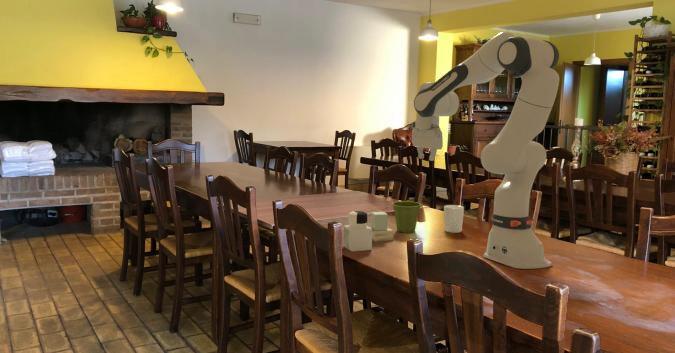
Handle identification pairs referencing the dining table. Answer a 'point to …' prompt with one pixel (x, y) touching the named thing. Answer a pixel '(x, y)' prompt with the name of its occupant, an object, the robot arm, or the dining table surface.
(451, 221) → the white cup
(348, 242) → the container
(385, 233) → the beech block
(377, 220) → the sage block
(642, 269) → the dining table surface
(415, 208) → the plant pot
